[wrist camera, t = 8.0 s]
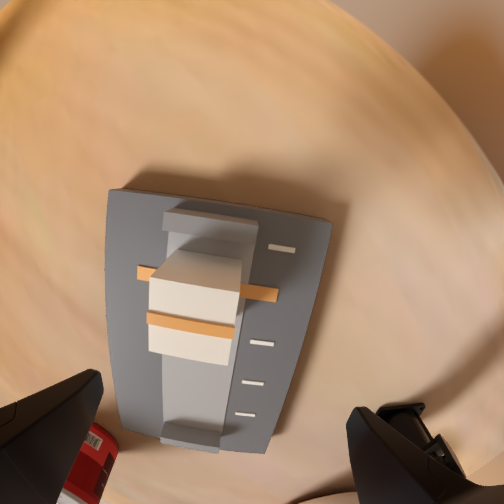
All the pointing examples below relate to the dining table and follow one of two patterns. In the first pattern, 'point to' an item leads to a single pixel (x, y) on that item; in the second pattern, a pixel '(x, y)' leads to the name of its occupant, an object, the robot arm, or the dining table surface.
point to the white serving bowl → (335, 499)
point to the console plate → (246, 322)
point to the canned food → (90, 468)
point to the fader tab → (194, 306)
